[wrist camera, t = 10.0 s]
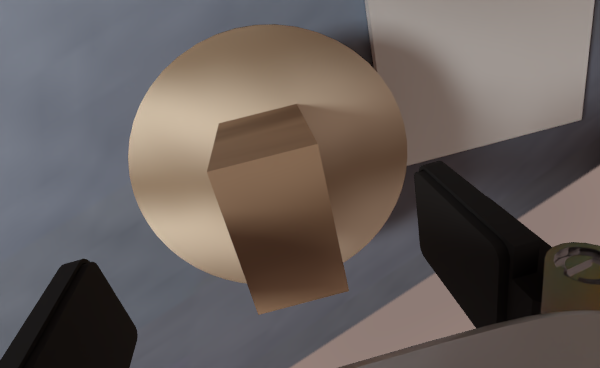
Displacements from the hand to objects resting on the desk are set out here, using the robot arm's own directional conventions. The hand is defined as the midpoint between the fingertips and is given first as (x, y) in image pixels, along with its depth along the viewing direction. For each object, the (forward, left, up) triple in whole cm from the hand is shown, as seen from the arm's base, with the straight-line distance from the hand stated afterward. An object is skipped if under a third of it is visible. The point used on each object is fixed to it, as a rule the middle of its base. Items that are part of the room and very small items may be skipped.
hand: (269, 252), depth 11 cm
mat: (-2, +14, -13) cm, 19 cm away
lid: (+1, 0, -8) cm, 8 cm away
